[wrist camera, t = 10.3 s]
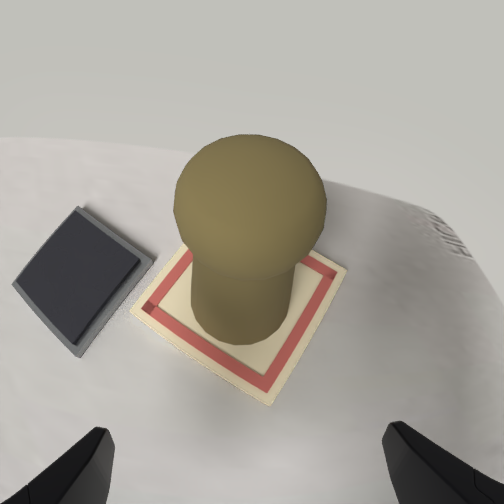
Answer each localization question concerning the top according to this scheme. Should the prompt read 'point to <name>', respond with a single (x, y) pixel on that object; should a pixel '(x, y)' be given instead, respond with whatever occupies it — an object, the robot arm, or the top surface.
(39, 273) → the ink pad
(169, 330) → the print card
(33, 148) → the top surface
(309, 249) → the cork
